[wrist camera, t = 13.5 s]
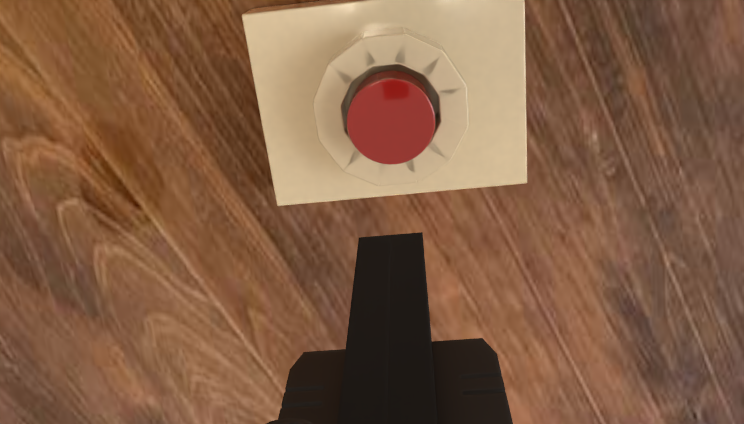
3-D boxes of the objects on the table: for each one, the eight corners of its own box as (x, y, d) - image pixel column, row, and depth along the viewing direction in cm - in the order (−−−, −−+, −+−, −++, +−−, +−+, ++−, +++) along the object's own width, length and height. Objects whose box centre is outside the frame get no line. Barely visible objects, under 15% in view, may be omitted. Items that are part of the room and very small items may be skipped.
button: (430, 65, 27) (432, 74, 25) (436, 147, 28) (438, 160, 26) (344, 74, 27) (341, 83, 25) (354, 155, 28) (352, 169, 27)
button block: (515, -22, 28) (533, -14, 25) (519, 167, 32) (535, 198, 28) (251, 8, 29) (231, 20, 26) (284, 189, 33) (270, 222, 29)
